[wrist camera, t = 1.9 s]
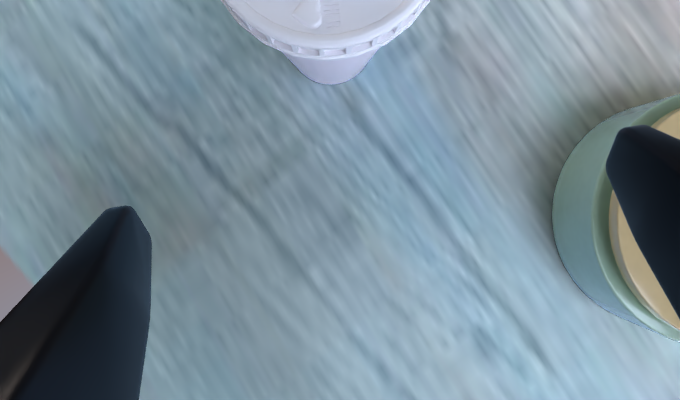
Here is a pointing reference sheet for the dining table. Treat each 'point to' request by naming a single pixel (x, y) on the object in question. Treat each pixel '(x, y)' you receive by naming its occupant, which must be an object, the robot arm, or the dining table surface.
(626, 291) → the jar
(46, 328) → the robot arm
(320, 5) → the smoothie
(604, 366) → the dining table surface
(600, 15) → the dining table surface
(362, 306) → the dining table surface
